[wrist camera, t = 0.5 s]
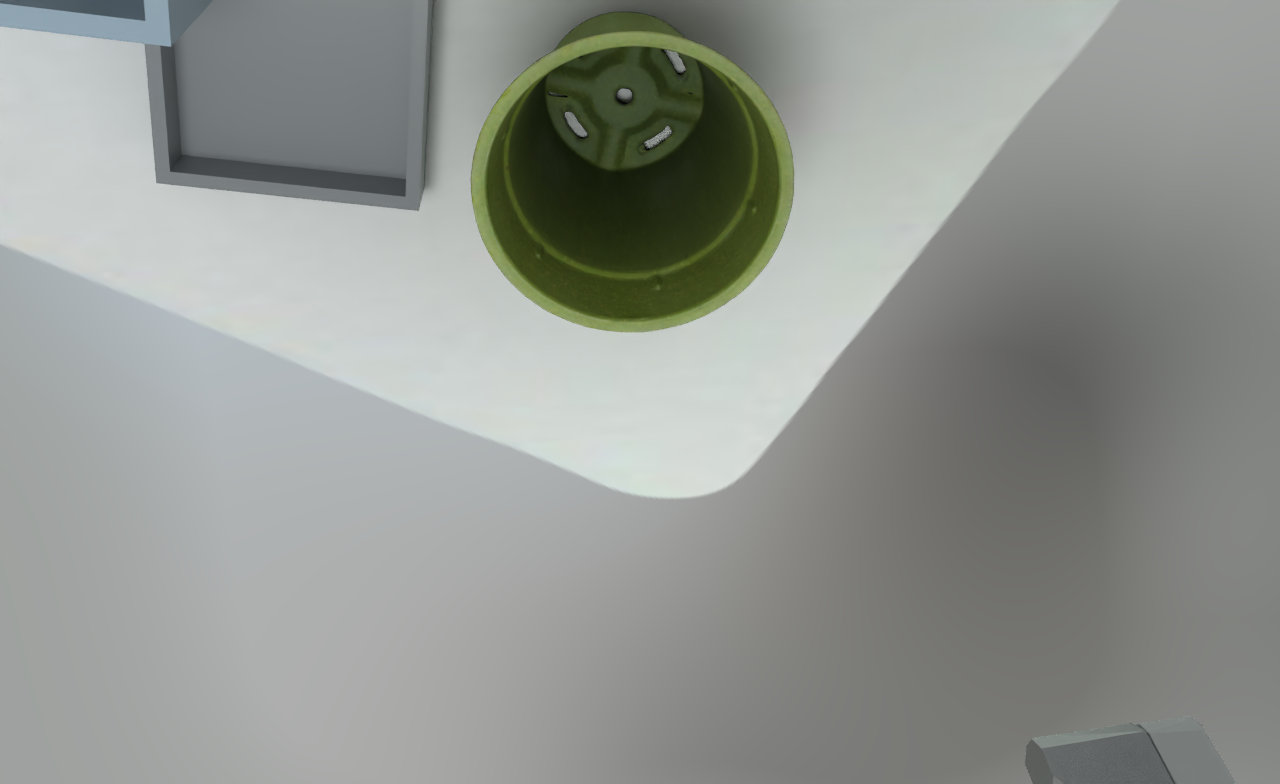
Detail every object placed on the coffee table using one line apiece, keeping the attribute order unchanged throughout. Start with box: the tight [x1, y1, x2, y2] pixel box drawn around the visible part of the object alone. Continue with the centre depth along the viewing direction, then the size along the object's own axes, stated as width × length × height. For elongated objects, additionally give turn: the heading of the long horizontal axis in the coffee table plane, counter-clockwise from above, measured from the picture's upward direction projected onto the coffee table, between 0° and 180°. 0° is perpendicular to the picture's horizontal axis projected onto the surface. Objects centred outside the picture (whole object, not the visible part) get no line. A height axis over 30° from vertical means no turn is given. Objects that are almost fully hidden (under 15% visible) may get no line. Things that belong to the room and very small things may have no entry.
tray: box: [145, 0, 433, 211], centre depth 50 cm, size 11×11×2 cm
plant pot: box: [471, 12, 794, 332], centre depth 48 cm, size 12×12×11 cm
